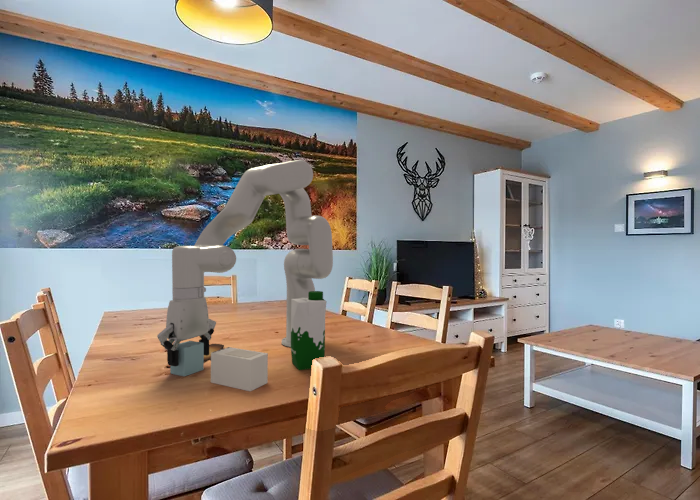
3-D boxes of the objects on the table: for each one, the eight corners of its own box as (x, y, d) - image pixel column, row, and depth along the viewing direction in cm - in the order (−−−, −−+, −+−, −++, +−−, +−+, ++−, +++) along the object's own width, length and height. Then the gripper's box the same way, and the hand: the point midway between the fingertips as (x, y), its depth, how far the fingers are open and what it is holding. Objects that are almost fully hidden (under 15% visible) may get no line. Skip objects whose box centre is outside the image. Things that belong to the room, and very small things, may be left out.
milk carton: (328, 367, 101) (329, 293, 101) (295, 372, 97) (296, 294, 97) (318, 358, 109) (318, 289, 109) (287, 362, 105) (288, 291, 105)
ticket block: (229, 374, 94) (229, 346, 94) (267, 382, 89) (267, 352, 89) (210, 382, 89) (210, 352, 89) (250, 391, 84) (250, 359, 84)
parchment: (200, 345, 124) (200, 342, 124) (230, 344, 124) (230, 342, 124) (162, 370, 99) (162, 367, 99) (200, 370, 99) (200, 367, 99)
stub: (189, 366, 101) (190, 340, 101) (203, 369, 98) (203, 342, 98) (170, 373, 95) (170, 345, 95) (184, 376, 93) (184, 347, 93)
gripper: (204, 289, 106) (205, 349, 107) (147, 297, 91) (148, 367, 91) (224, 290, 103) (225, 352, 103) (169, 299, 87) (170, 372, 88)
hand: (189, 359), depth 97 cm, fingers open, 9 cm apart
